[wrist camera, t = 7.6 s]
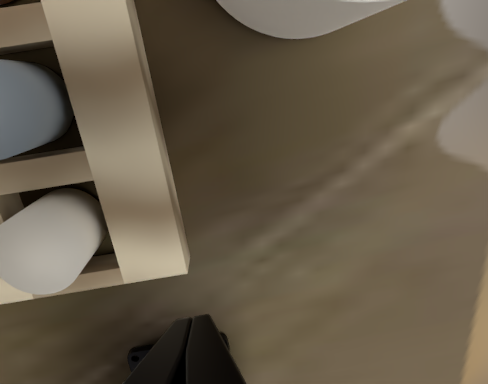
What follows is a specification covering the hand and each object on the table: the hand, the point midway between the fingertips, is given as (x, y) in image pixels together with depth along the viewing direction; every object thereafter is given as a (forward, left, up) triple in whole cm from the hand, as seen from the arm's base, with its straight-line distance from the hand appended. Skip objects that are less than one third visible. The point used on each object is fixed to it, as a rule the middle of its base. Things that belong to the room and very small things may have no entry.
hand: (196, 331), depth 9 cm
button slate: (+6, +8, -11) cm, 15 cm away
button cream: (-1, +8, -12) cm, 14 cm away
